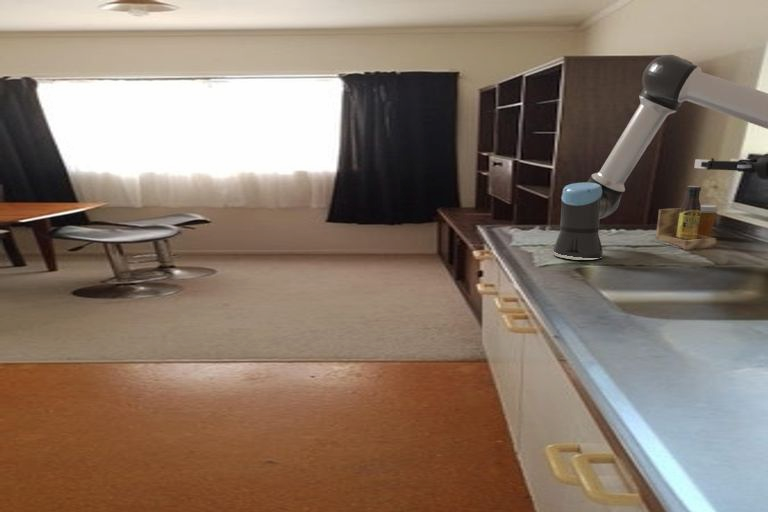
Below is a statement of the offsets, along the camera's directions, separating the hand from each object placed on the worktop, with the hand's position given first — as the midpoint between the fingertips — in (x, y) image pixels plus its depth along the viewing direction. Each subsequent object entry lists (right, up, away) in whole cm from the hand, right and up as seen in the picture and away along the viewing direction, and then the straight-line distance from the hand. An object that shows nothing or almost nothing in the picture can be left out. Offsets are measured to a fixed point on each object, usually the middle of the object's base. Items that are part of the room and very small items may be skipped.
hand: (713, 163), depth 157 cm
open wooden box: (+2, -26, +17) cm, 31 cm away
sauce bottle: (+2, -25, +17) cm, 31 cm away
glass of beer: (+15, -23, +30) cm, 41 cm away
